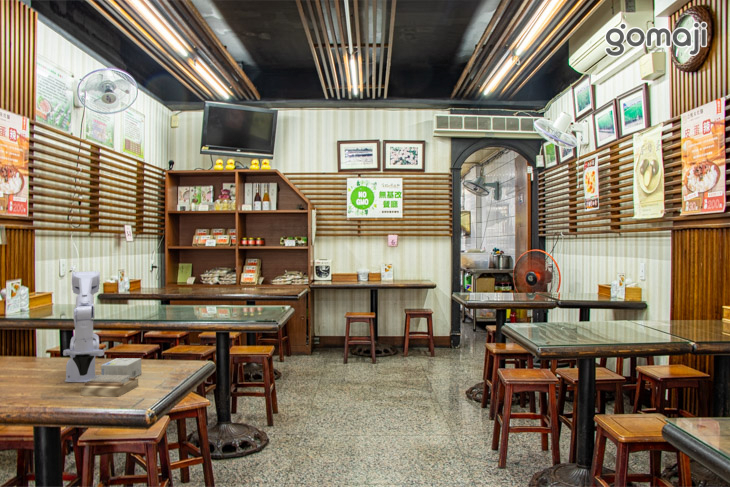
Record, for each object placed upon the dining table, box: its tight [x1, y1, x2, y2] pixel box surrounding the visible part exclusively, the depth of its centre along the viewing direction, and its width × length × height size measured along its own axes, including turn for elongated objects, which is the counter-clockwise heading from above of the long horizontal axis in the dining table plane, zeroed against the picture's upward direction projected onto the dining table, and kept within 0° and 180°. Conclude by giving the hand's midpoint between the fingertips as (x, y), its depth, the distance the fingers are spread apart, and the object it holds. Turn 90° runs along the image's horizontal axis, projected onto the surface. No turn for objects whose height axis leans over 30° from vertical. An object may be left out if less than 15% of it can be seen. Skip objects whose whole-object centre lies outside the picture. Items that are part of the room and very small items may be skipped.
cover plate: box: [89, 374, 130, 384], centre depth 160 cm, size 12×5×2 cm, turn 86°
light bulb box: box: [100, 357, 142, 378], centre depth 176 cm, size 11×7×11 cm
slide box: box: [80, 376, 139, 398], centre depth 160 cm, size 14×12×4 cm
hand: (83, 374), depth 161 cm, fingers closed
